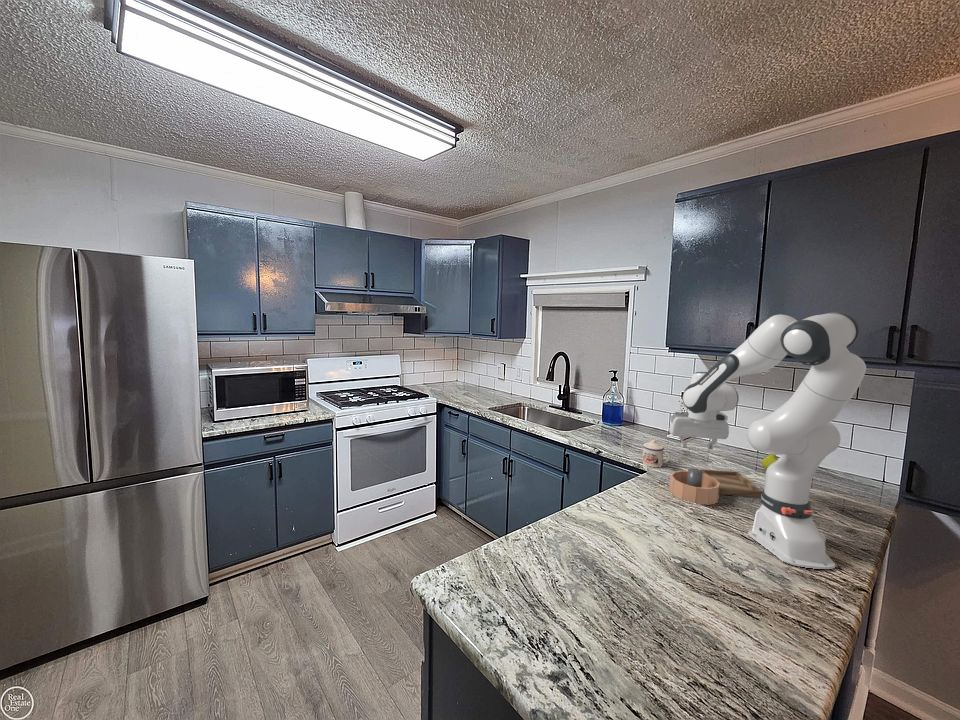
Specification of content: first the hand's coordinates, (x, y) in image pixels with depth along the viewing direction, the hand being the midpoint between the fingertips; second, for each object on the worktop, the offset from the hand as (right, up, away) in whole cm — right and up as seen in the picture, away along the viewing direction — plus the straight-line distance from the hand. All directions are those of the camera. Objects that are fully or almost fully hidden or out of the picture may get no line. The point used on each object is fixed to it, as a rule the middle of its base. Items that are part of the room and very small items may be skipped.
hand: (696, 448), depth 154 cm
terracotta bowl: (0, -19, +2) cm, 19 cm away
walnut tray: (+19, -18, +11) cm, 29 cm away
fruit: (+48, -17, +27) cm, 58 cm away
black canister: (0, -19, +2) cm, 19 cm away
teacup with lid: (-2, -15, +32) cm, 36 cm away
